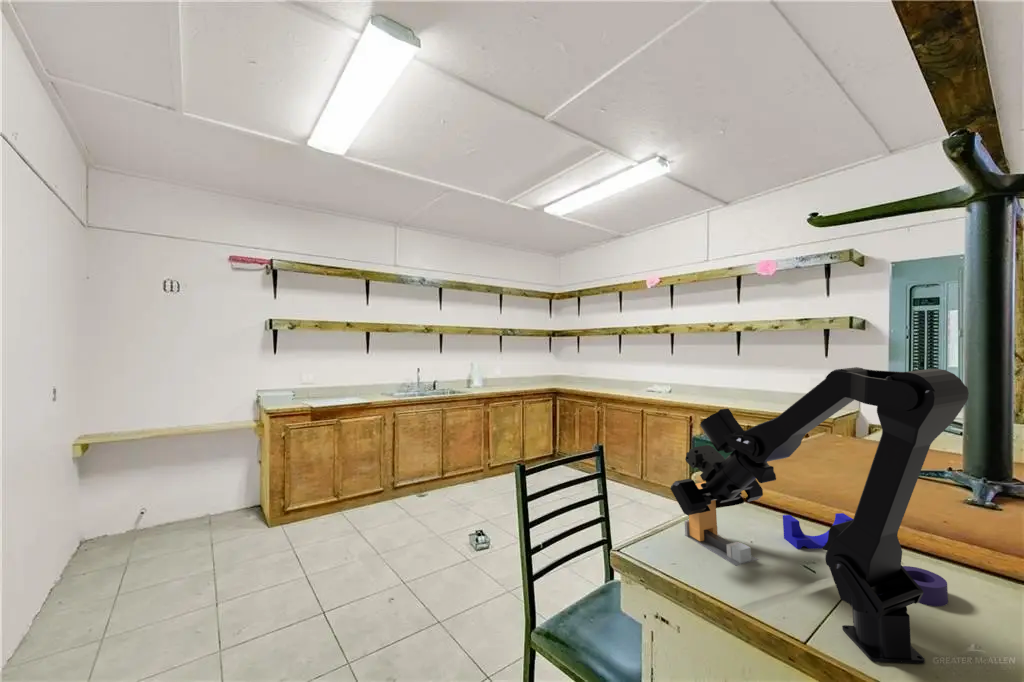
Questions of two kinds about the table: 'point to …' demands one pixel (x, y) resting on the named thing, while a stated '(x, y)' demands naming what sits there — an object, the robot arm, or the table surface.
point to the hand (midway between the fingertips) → (697, 509)
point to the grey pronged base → (724, 547)
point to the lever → (929, 586)
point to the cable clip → (800, 539)
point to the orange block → (703, 521)
